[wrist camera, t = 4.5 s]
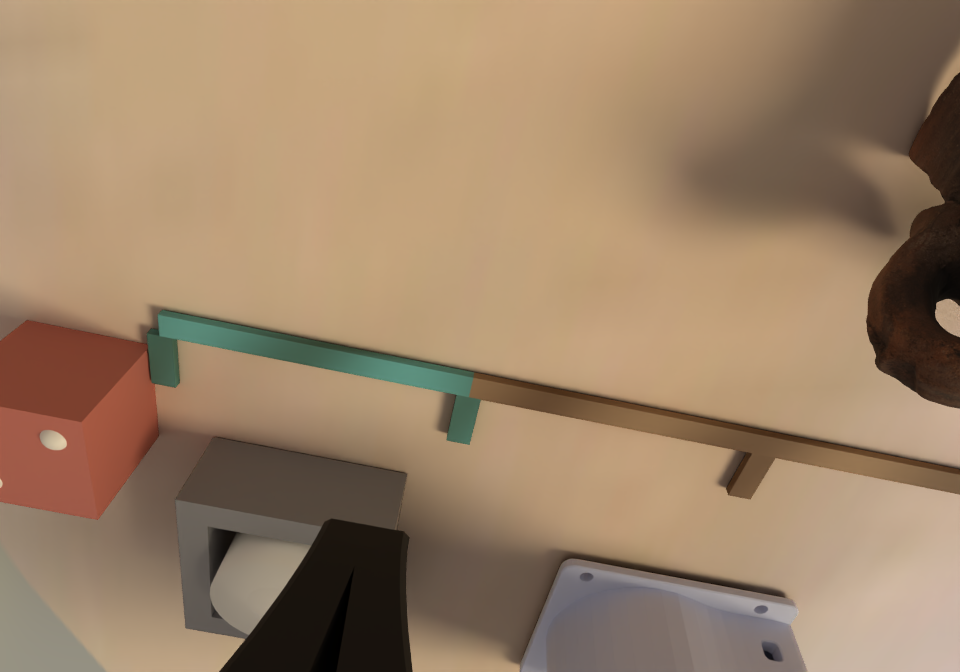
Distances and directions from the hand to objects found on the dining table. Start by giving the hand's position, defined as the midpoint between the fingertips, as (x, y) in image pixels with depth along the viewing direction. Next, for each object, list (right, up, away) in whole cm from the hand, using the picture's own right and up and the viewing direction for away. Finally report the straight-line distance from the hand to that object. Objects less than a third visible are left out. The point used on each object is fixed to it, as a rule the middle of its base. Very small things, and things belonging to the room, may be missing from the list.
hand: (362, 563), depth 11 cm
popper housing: (-5, -3, +14) cm, 15 cm away
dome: (-5, -4, +14) cm, 15 cm away
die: (-11, +2, +11) cm, 16 cm away
